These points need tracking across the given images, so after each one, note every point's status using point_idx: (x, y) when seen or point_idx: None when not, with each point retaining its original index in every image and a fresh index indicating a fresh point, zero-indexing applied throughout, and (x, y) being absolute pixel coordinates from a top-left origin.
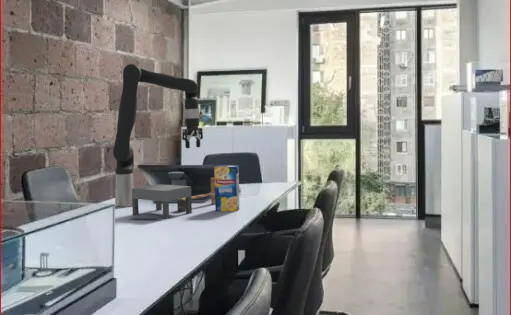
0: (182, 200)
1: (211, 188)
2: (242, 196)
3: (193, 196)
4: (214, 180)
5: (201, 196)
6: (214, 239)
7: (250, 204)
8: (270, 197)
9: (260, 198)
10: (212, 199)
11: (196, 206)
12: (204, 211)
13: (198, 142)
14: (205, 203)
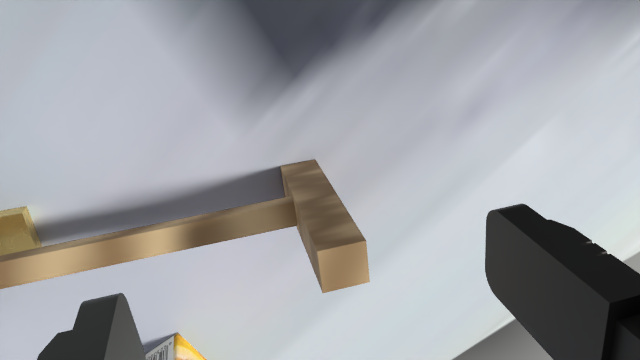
0: None
1: (299, 214)
2: (601, 90)
3: (75, 254)
4: (317, 276)
5: (149, 253)
6: None
7: (381, 333)
8: (613, 240)
9: None
10: (286, 186)
11: (145, 176)
12: None
13: (557, 338)
14: (268, 125)
